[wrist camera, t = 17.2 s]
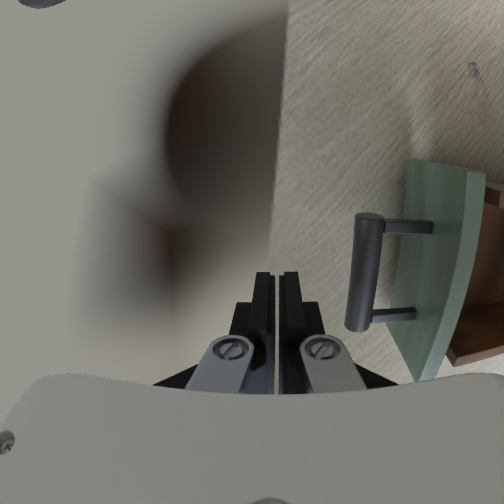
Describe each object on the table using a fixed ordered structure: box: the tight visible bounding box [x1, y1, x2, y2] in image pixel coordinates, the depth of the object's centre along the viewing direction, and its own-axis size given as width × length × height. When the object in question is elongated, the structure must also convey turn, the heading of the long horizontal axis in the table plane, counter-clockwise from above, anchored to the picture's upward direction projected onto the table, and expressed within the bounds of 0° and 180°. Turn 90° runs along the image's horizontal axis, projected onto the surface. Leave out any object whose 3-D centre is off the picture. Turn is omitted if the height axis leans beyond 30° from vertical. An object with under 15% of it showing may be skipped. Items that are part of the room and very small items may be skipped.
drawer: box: [344, 159, 504, 382], centre depth 13 cm, size 19×11×6 cm, turn 92°
